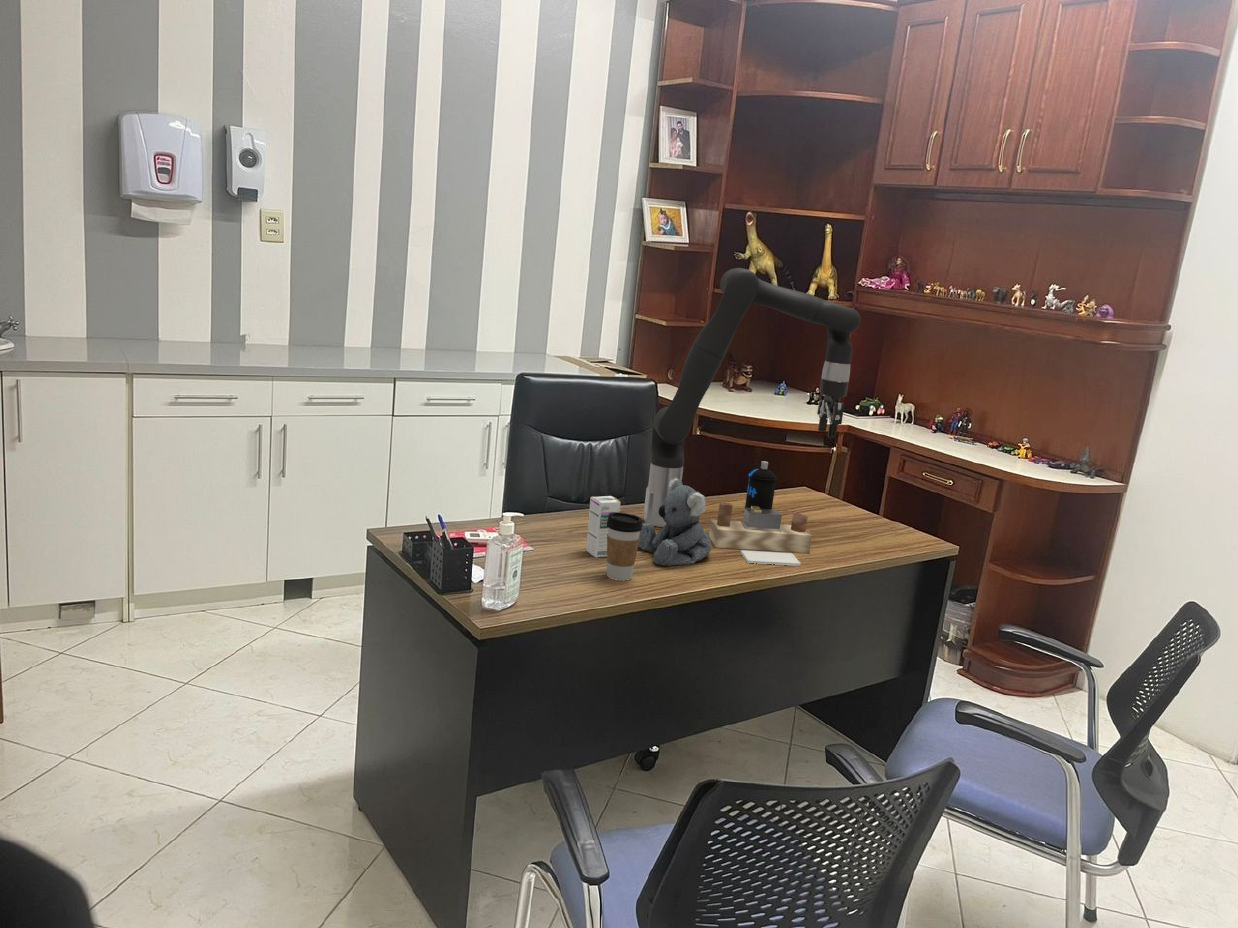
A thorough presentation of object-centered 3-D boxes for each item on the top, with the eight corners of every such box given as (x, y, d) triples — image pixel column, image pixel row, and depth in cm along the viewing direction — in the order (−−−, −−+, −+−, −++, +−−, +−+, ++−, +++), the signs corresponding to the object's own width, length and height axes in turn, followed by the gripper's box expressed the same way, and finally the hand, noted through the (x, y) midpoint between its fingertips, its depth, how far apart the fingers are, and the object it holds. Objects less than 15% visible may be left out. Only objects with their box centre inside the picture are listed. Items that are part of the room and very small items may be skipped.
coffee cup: (600, 569, 229) (606, 509, 226) (635, 571, 230) (641, 512, 227) (602, 581, 221) (608, 520, 218) (638, 584, 222) (645, 522, 218)
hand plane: (715, 547, 255) (720, 508, 252) (708, 536, 264) (713, 498, 261) (809, 553, 258) (815, 514, 256) (799, 542, 267) (805, 504, 264)
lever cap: (747, 527, 257) (749, 510, 255) (743, 521, 261) (745, 504, 260) (779, 529, 258) (782, 512, 257) (774, 523, 263) (777, 506, 261)
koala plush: (631, 545, 249) (639, 473, 245) (693, 543, 256) (702, 473, 252) (658, 568, 234) (667, 492, 229) (723, 566, 241) (733, 491, 236)
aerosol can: (769, 526, 279) (778, 460, 275) (770, 534, 271) (780, 466, 267) (741, 523, 280) (749, 457, 275) (741, 531, 272) (750, 463, 267)
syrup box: (595, 558, 237) (600, 502, 233) (585, 550, 242) (590, 495, 238) (615, 556, 239) (621, 501, 236) (605, 549, 244) (610, 494, 241)
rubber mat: (747, 563, 245) (748, 560, 244) (740, 553, 252) (740, 550, 252) (800, 566, 246) (800, 563, 246) (791, 556, 254) (791, 553, 254)
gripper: (814, 373, 274) (806, 428, 278) (830, 381, 260) (821, 439, 264) (839, 375, 275) (831, 430, 279) (856, 383, 261) (847, 441, 265)
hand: (826, 434), depth 271 cm, fingers open, 8 cm apart
